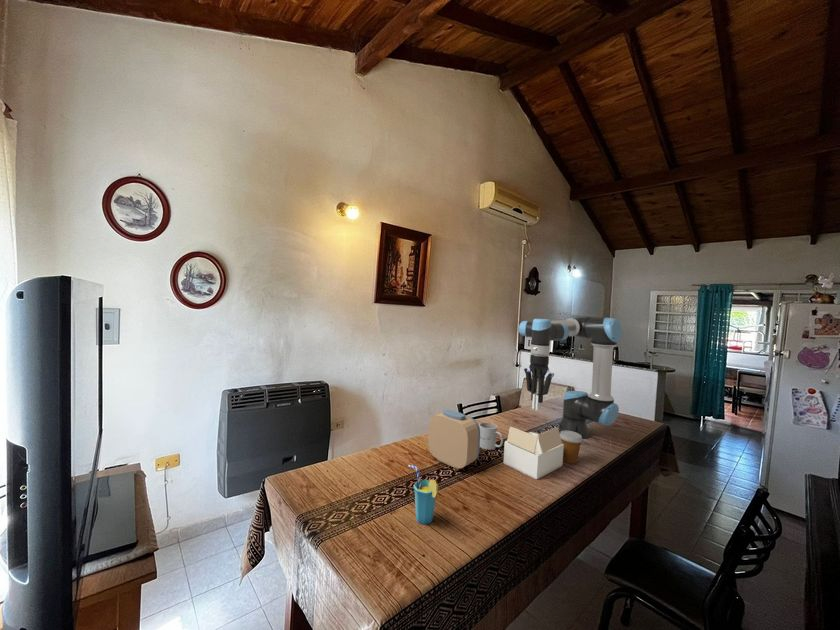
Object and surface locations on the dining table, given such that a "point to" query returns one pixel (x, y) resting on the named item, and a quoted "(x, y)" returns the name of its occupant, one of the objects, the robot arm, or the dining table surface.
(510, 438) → the short flap
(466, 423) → the alarm clock
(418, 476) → the cup
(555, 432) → the long flap
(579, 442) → the disposable coffee cup
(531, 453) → the carton
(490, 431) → the mug
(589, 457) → the dining table surface
